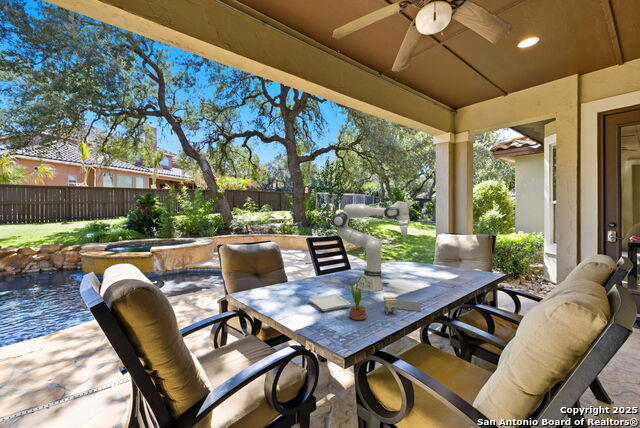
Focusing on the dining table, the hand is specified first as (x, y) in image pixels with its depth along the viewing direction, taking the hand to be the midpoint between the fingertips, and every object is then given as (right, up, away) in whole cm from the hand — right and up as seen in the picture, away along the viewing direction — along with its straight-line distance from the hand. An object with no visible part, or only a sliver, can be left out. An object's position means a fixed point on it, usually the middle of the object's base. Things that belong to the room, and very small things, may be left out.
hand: (405, 240), depth 213 cm
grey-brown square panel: (-8, -40, -30) cm, 50 cm away
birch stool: (-22, -40, -42) cm, 62 cm away
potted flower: (-42, -40, -50) cm, 77 cm away
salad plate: (-58, -40, -30) cm, 77 cm away
